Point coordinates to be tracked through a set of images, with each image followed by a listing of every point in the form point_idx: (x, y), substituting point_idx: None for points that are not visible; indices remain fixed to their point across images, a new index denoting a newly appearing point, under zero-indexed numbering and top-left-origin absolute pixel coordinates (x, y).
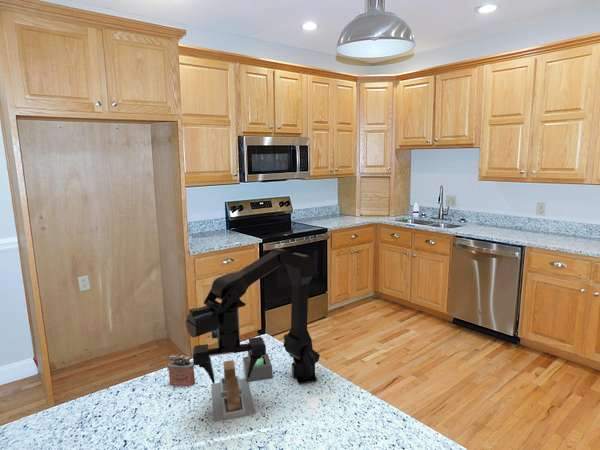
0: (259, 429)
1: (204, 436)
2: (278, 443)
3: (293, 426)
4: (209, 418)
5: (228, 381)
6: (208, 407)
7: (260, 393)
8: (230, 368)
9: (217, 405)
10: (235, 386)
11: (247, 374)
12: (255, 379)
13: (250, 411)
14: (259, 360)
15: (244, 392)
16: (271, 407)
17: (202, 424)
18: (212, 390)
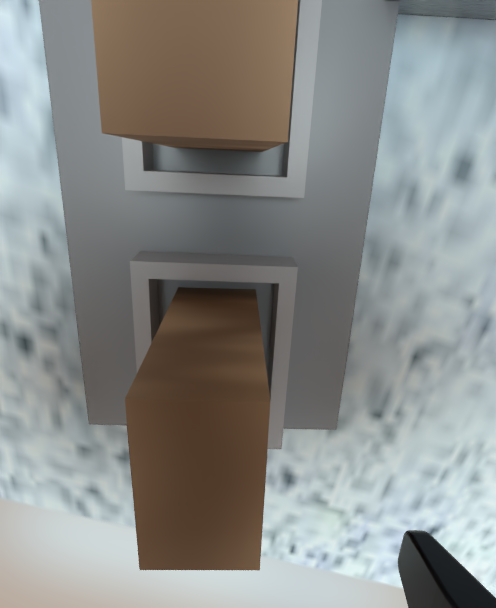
0: (324, 493)
1: (54, 468)
2: (375, 577)
3: (479, 515)
4: (67, 346)
5: (157, 448)
6: (49, 234)
7: (436, 188)
8: (209, 108)
9: (107, 278)
10: (228, 546)
11: (416, 573)
12: (476, 2)
13: (313, 401)
14: None
15: (324, 178)
16: (444, 360)
17: (30, 384)
18: (51, 39)
